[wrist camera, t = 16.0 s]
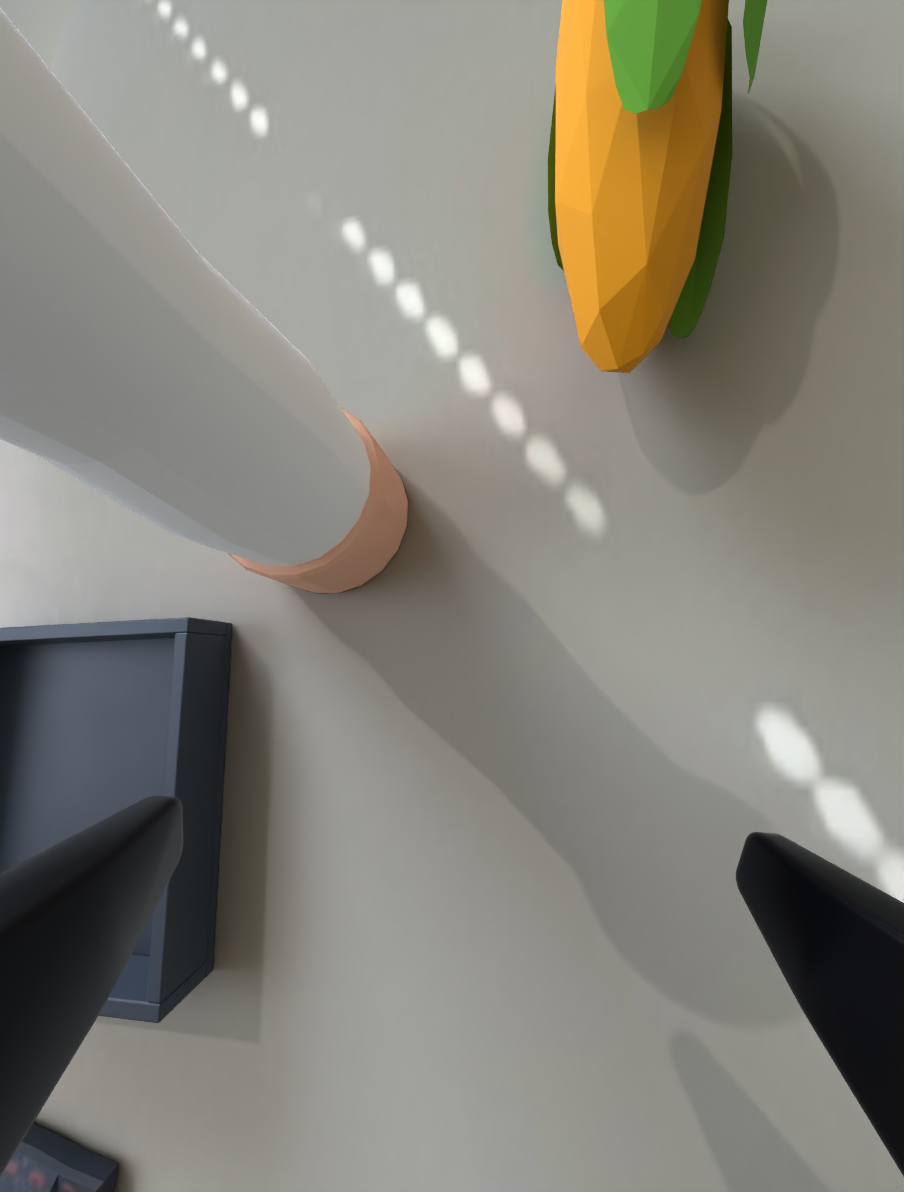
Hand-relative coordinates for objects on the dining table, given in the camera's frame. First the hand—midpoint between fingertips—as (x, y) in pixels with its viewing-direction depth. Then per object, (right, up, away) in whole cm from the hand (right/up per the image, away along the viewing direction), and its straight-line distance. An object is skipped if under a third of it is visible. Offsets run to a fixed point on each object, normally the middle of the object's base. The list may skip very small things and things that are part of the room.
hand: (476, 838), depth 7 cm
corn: (+8, +21, +13) cm, 26 cm away
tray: (-17, -5, +13) cm, 22 cm away
